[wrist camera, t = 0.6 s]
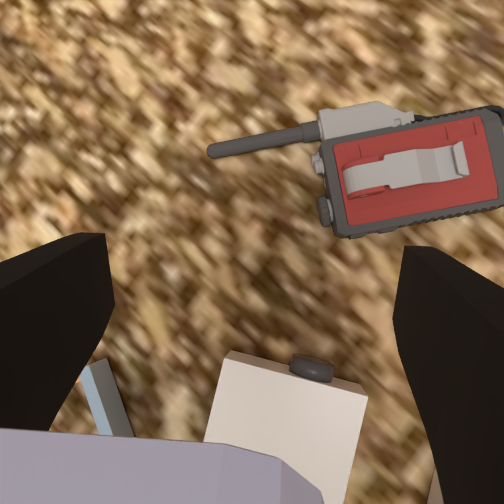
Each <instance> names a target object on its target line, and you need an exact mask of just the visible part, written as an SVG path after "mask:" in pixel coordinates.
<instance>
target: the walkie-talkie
mask: <svg viewBox="0 0 504 504" xmlns="http://www.w3.org/2000/svg"><path fill="white" fill-rule="evenodd" d="M503 125H504V109H503V108H502V107H500V106H493V105H489V106H484V107H479V108H474V109H469V110H464V111H459V112H454V113H449V114H444V115H439V116H433V117H425V116H422V115H413V111H411V112H406V113H404V112H401V111H399V110H397V109H395V108H393V107H390V106H388V105H386V104H384V103H381V102H379V101H374V102H369V103H364V104H359V105H354V106H349V107H344V108H339V109H334V110H332V109H330V108H328V109H323V110H319V111H318V116H317V121H312V122H307V123H302V124H301V125H300V126H298V127H293V128H288V129H283V130H278V131H273V132H268V133H263V134H258V135H253V136H248V137H243V138H238V139H234V140H229V141H224V142H219V143H214V144H210V145H209V146H208V147H207V155H208V156H209V157H210V158H212V159H216V158H221V157H226V156H231V155H236V154H241V153H246V152H251V151H256V150H261V149H266V148H271V147H276V146H281V145H286V144H292V143H297V142H302V141H303V142H304V143H307V142H312V141H317V140H321V142H322V144H321V146H320V150H319V152H317V153H316V154H315V155H311V161H312V165H313V167H314V168H315V172H316V174H318V173H322V176H323V182H324V186H325V191H326V196H327V199H326V197H325V196H320V197H318V198H317V204H318V212H319V217H320V221H321V224H322V226H323V227H327V226H329V225H330V224H331V222H332V227H333V232H334V236H336V237H339V238H341V239H342V238H348V237H349V239H354V238H359V237H363V236H364V235H365V234H369V233H374V232H378V233H379V234H381V233H386V232H391V231H394V230H396V228H401V227H405V226H407V225H409V226H412V225H414V224H416V223H417V224H421V223H423V222H425V223H428V222H430V221H432V220H433V221H437V220H439V219H441V220H444V219H446V218H453V217H456V216H457V217H460V216H462V215H469V214H472V213H473V214H476V213H479V212H485V211H488V210H489V211H491V210H494V209H497V208H500V207H503V206H504V131H503V127H502V126H503Z"/></svg>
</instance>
